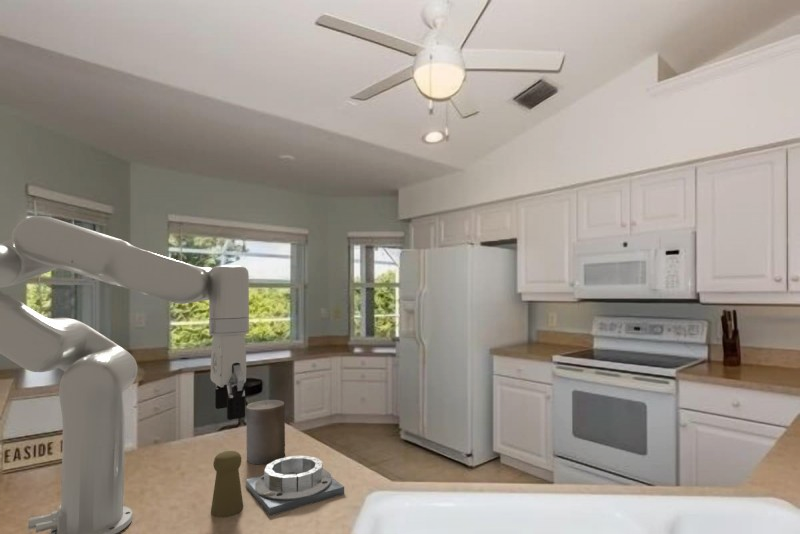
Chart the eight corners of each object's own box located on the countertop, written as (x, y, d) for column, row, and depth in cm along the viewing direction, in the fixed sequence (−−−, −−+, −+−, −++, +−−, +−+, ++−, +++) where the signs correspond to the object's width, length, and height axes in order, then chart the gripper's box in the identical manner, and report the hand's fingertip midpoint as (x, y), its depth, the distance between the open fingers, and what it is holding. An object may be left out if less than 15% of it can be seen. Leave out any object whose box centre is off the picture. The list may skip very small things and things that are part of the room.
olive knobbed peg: (210, 506, 91) (210, 450, 91) (241, 499, 93) (242, 445, 94) (211, 519, 85) (211, 460, 86) (245, 512, 88) (245, 455, 88)
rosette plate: (269, 516, 86) (269, 488, 87) (245, 486, 100) (246, 462, 100) (344, 493, 95) (344, 469, 96) (313, 469, 109) (313, 447, 109)
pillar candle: (291, 451, 121) (290, 394, 122) (275, 465, 111) (275, 404, 112) (256, 450, 122) (256, 394, 123) (238, 464, 112) (238, 403, 113)
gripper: (200, 325, 96) (200, 407, 95) (219, 331, 82) (220, 426, 81) (237, 323, 100) (237, 401, 99) (261, 328, 86) (261, 419, 85)
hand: (229, 412), depth 90 cm, fingers open, 9 cm apart
